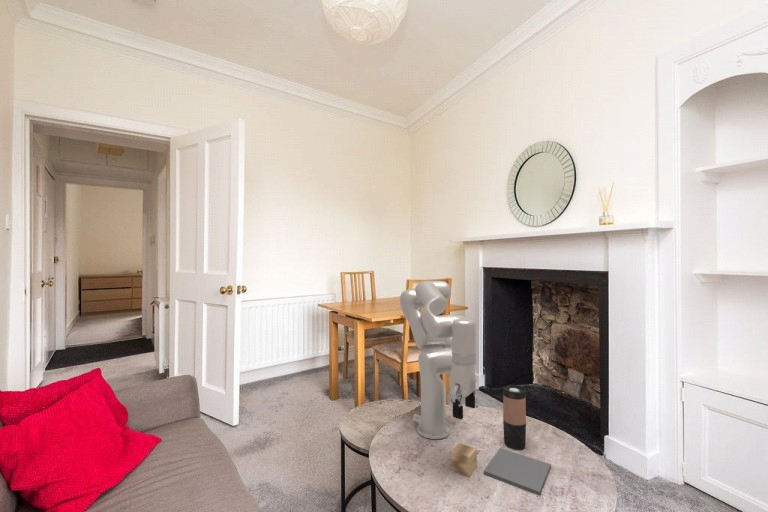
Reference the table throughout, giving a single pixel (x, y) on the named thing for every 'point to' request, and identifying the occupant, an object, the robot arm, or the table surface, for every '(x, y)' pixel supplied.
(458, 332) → the robot arm
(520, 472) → the charcoal mat
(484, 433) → the table surface
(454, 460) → the oak block
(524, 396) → the travel mug
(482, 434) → the table surface
